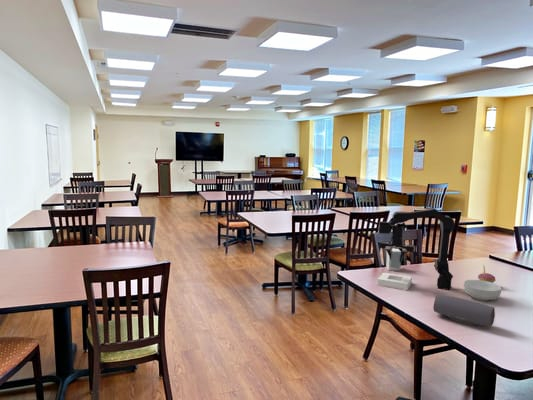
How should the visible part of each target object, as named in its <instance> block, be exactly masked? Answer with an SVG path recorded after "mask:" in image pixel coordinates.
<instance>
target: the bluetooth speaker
mask: <svg viewBox="0 0 533 400" xmlns="http://www.w3.org/2000/svg"><path fill="white" fill-rule="evenodd" d="M432 307H433V312H434V313H437V314H440V315H443V316H445V317H449V319H450V320H451V321H452V320H453V321H456V322H459V323H462V324H465V325H470V326H476V325H479V326H484V327H488V328H489V327H490V328H492V326H493V324H494V323H495V318H496V313H495V312H496V311H495V307H494V306H491V305H488V304H484V303H481V302H478V301H475V300H469V299H466V298H461V297H458V296H457V297H456V296H451V295H448V294H447V295H446V294H443V293H442V294H441V293H440V294H439V293H437V294H436V295H435V297H434V302H433V306H432Z"/></svg>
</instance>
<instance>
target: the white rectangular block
mask: <svg viewBox="0 0 533 400" xmlns="http://www.w3.org/2000/svg"><path fill="white" fill-rule="evenodd" d="M401 251H402V250H401V249H398V248H392V252H401ZM385 263H386V269H387V270H388V271H399V272H400V271H401V267H400V268H393V267H391V260H390V257H389V254H388V252H387V251H386V261H385Z"/></svg>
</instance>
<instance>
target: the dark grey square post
mask: <svg viewBox="0 0 533 400" xmlns="http://www.w3.org/2000/svg"><path fill="white" fill-rule="evenodd" d="M400 257H401V252H392V254H391V267H393V268H400V269H401V266H402V262H401V263H400Z"/></svg>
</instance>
